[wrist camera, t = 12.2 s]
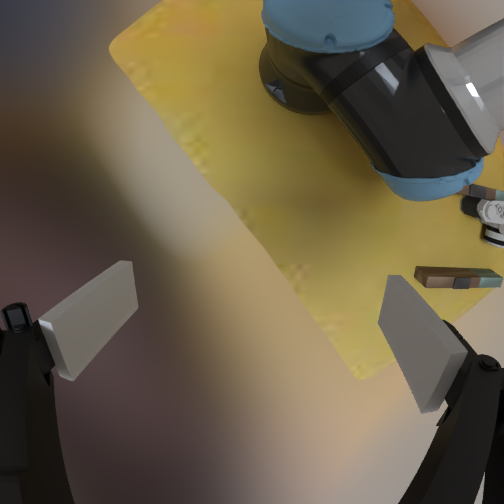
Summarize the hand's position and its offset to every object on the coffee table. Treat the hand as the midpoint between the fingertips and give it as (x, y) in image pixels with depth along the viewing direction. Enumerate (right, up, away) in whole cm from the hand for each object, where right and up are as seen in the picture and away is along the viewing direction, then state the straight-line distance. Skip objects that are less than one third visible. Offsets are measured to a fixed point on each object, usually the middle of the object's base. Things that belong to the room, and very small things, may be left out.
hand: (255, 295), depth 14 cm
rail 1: (+39, +13, +25) cm, 48 cm away
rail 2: (+39, -2, +30) cm, 49 cm away
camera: (+45, +9, +26) cm, 52 cm away
